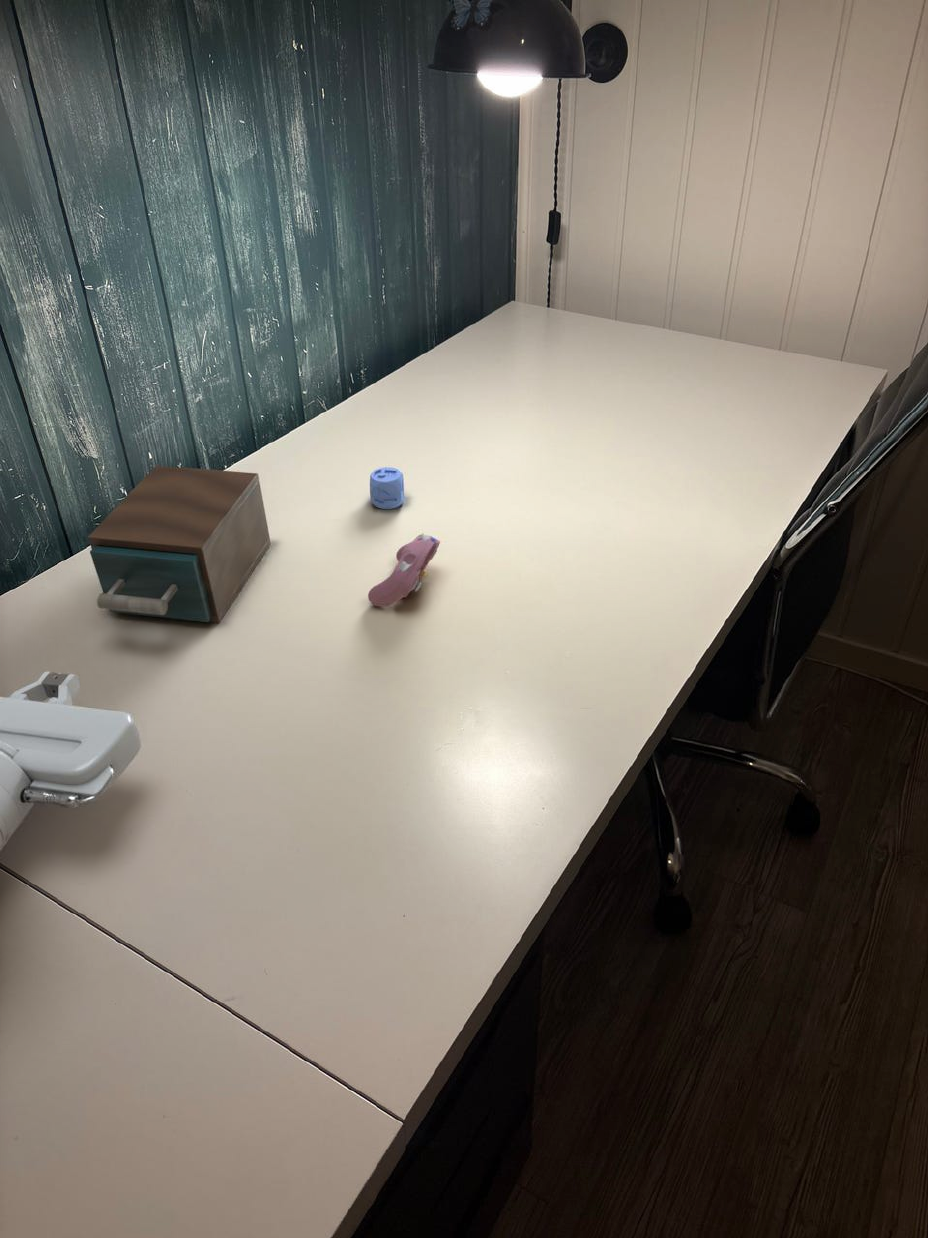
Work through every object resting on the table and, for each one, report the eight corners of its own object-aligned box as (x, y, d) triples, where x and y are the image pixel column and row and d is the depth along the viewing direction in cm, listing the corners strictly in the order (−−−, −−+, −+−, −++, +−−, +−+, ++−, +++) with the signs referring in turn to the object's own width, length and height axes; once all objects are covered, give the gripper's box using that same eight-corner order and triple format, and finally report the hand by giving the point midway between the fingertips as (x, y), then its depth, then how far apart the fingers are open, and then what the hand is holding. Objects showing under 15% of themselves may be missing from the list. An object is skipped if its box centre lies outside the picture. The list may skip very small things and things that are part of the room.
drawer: (190, 648, 95) (174, 586, 90) (88, 636, 97) (67, 575, 92) (258, 548, 109) (246, 490, 105) (168, 539, 111) (153, 482, 107)
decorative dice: (402, 509, 118) (400, 481, 115) (371, 509, 118) (368, 482, 115) (404, 493, 121) (402, 466, 118) (374, 493, 121) (371, 466, 118)
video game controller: (398, 624, 101) (421, 582, 97) (362, 602, 101) (384, 560, 96) (429, 574, 109) (452, 534, 104) (396, 554, 108) (418, 513, 104)
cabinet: (219, 623, 100) (201, 547, 94) (111, 611, 102) (87, 537, 96) (271, 544, 112) (258, 473, 106) (173, 535, 114) (155, 465, 108)
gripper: (80, 782, 69) (162, 663, 79) (-157, 749, 72) (-48, 640, 83) (102, 836, 73) (178, 716, 83) (-124, 803, 76) (-23, 691, 87)
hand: (64, 678), depth 83 cm, fingers closed
